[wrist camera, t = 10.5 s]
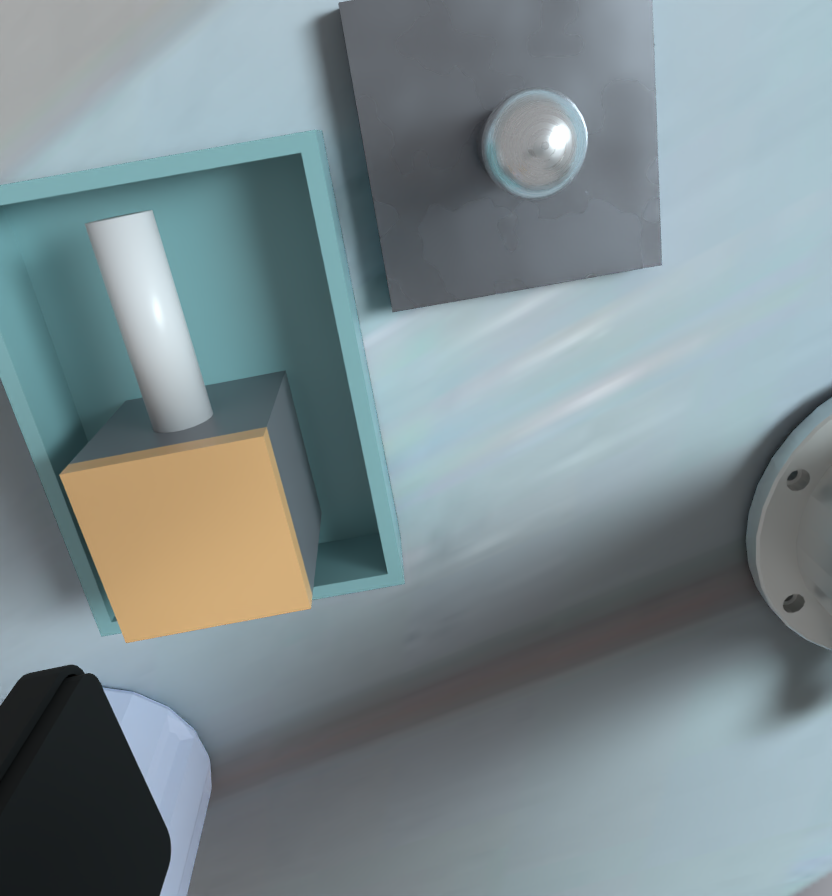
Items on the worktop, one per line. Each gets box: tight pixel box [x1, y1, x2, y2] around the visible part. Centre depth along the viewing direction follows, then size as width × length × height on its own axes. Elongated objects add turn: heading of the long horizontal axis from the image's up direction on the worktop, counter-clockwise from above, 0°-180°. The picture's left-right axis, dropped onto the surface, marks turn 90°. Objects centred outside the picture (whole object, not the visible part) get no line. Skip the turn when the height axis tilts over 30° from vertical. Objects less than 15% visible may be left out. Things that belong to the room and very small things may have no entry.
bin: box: [0, 130, 405, 636], centre depth 25 cm, size 15×11×4 cm
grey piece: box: [339, 0, 662, 312], centre depth 22 cm, size 9×9×6 cm
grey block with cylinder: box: [59, 210, 322, 643], centre depth 23 cm, size 12×6×6 cm, turn 10°
